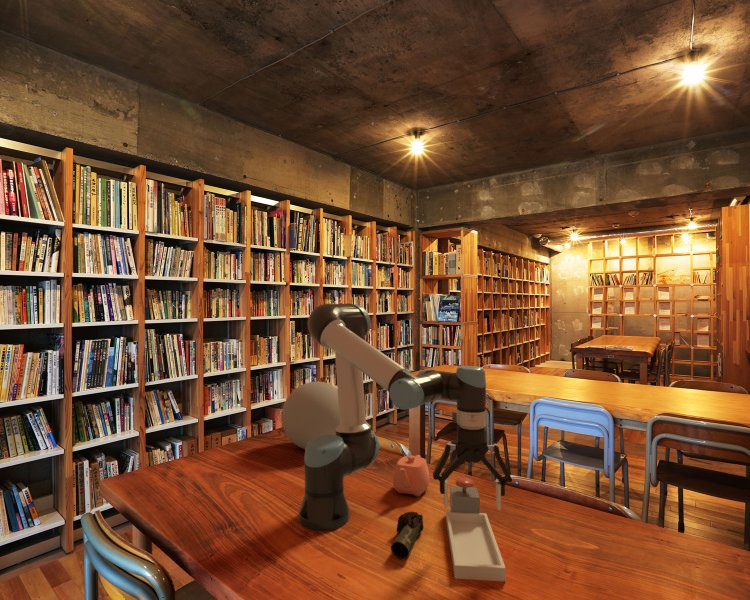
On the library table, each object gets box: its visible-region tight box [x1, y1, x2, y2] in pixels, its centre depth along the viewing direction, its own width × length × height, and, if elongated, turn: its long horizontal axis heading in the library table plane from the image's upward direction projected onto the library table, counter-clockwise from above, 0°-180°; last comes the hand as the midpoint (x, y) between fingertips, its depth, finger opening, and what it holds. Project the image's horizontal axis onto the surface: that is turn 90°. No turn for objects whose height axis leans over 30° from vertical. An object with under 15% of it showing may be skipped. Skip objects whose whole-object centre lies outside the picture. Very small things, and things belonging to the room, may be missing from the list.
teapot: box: [392, 454, 430, 497], centre depth 145 cm, size 20×12×12 cm, turn 158°
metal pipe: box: [390, 511, 424, 561], centre depth 113 cm, size 18×7×6 cm, turn 159°
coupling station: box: [445, 477, 507, 582], centre depth 114 cm, size 12×33×11 cm, turn 175°
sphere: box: [281, 381, 340, 450], centre depth 189 cm, size 30×30×30 cm
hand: (472, 506), depth 110 cm, fingers open, 13 cm apart
